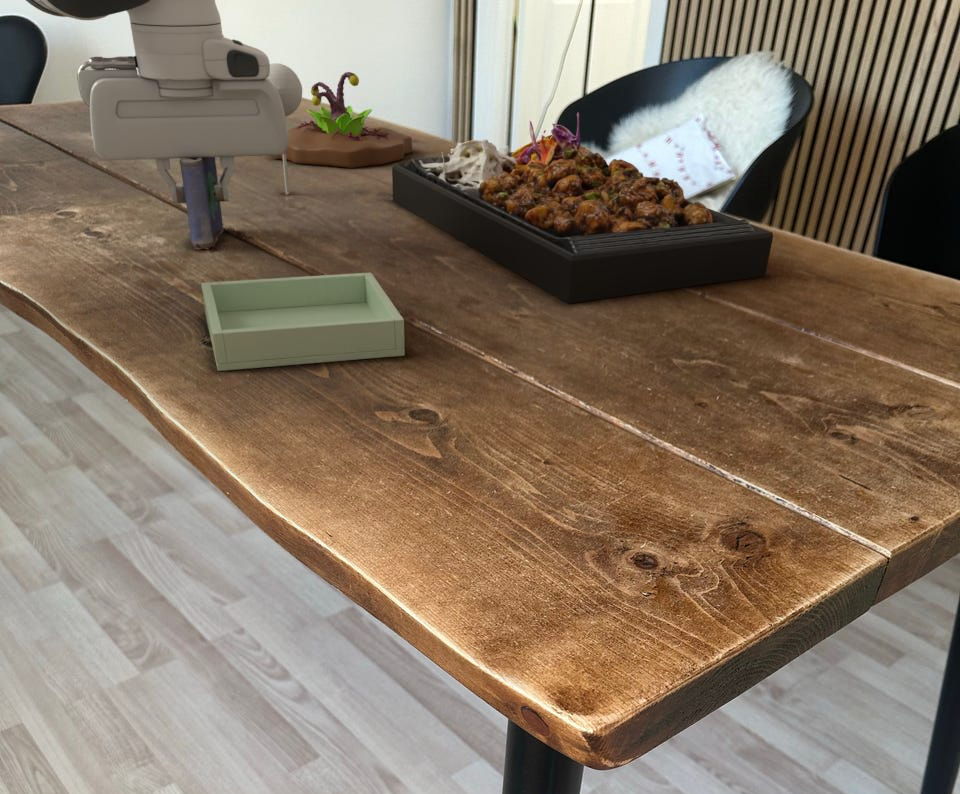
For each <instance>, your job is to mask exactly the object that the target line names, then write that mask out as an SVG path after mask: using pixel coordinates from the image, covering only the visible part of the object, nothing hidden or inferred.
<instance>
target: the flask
mask: <svg viewBox="0 0 960 794" xmlns="http://www.w3.org/2000/svg"><path fill="white" fill-rule="evenodd" d="M179 165H180V173H181V178H182V183H183V186H184V194H185V199H186V203H185V206H186V212H187V219H188V226H189V235H190V244H191V246H192V248H193V249H194V250H198V251H199V250H202V249H203V250H204V249H206V251H207V250H209V249H210V248H211V247H212V248H214V247H215V246H216V244H215V243H216V242H218V241H219V238H218V237H220V235H221V234H223V232H225V229H224V222H223V215H222V207H221V202H215V198H214V190H213V184H212V182H219V180H218V174H217V173H218V171H217V164H216V157H203V158H202V157H199V158H179Z"/></svg>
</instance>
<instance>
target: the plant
mask: <svg viewBox="0 0 960 794" xmlns="http://www.w3.org/2000/svg"><path fill="white" fill-rule="evenodd" d="M346 79H348V82H349V84H350V85H351V86H352V87H357V86H358V85H359V84H360V79H359V76H358V75H357V74H355V73H353V72H350V71H345V72H344V73H343V74H341V76H340V78H339V80H338V83H337V88H336V93H335V94H334V91H333V89H331V88H330V86H328V85H327V84H326V83H324V82H322V81H318V82H316V83H314V84H313V85H312V86H311V89H310V93H311V96H312V99H311V101H312V102H311V103H312V104H313V106H316V107H317V106H320V105H321V103H322V97H324V98H326V100H327V101H328V103H329V110H328V109H327V108H326V107H324V106H320V109H319V110H320V111H318V110H317V111H315V110H312V109H309V108H307V109H306V112H308V113H309V115H310V116H312V117H313V118H314V119H315V121H316V123H315V122H314V121H313V120H311V119H310V121H309V122H307V121H304V123H303V122H302V123H300V125H298V126H294V127H293V128H291V129H290V128H289V130H288V129H287V130H288V137H289V146H288V148H287V150H286V161H290V162H293V163H294V164H299V165H311V166H323V167H324V166H325V167H326V166H327V167H337V168H345V169H346V168H347V169H356V168H363V167H368V166H380V165H387V164H389V163H394V162H397V161H400V160H403V159H404V157H405V155H407V154H410V153H413V138H412V136H410V135H406V134H404V133H402V132H399V131H397V130H393V129H391V128H389V127H382V126H381V127H380V126H379V127H368V126H365V127H364V124H365V120H366V118H367V117H368V116H369V115H370V114H371V113H372V111H373V109H372V108H369V109H364V110H363V111H361V112H360V113H358V114H357V116H356V117H354V110H353V107H352V105H348V106H345V93H344V88H345V87H344V85H345V80H346ZM319 87H320V88H322V89H323V90H325V91H321V92H320V89H319ZM273 159H275V160H283V156H282V155H273Z"/></svg>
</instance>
